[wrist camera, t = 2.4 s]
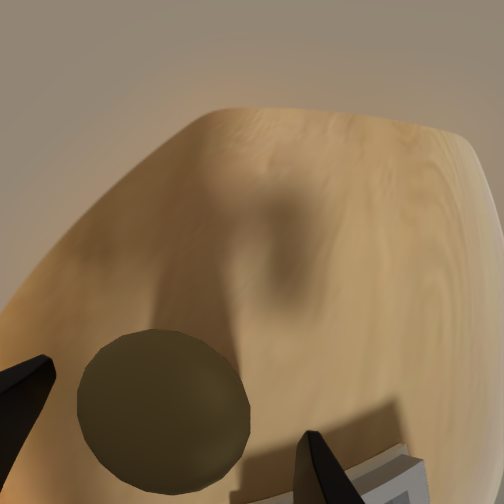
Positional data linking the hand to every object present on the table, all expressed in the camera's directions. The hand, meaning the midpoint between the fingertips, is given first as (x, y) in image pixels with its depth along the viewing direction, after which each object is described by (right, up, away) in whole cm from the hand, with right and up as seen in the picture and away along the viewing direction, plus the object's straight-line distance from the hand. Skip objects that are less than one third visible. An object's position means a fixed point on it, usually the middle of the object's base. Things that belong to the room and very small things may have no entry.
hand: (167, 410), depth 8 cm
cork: (-1, -4, +8) cm, 9 cm away
